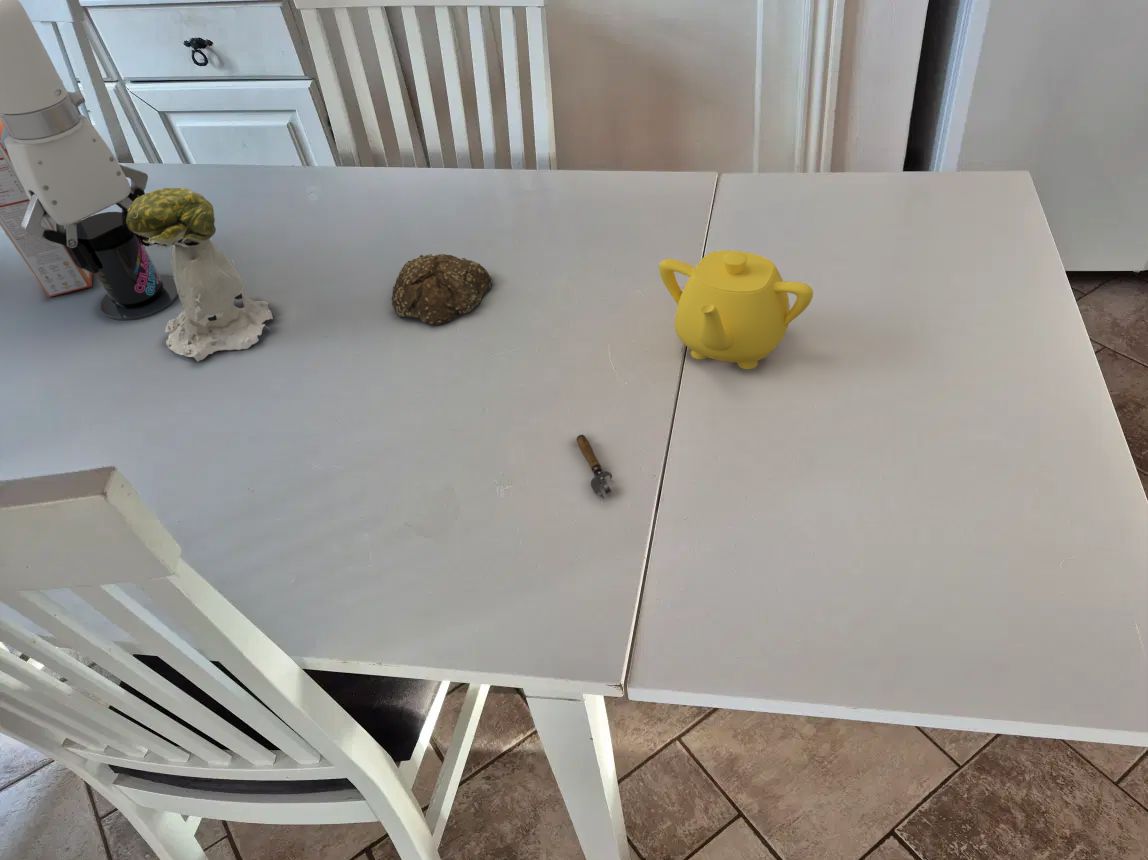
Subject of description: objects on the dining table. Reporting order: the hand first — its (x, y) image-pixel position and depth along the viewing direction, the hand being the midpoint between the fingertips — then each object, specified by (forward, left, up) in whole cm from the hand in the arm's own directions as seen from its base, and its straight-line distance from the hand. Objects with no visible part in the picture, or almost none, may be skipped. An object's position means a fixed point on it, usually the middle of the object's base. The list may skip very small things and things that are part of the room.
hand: (117, 255), depth 108 cm
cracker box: (-1, +16, -7) cm, 17 cm away
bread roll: (+21, -35, -7) cm, 42 cm away
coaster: (0, 0, -7) cm, 7 cm away
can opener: (+6, -71, -7) cm, 72 cm away
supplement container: (0, 0, -6) cm, 6 cm away
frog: (+1, -16, -7) cm, 17 cm away
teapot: (+30, -73, -7) cm, 79 cm away
